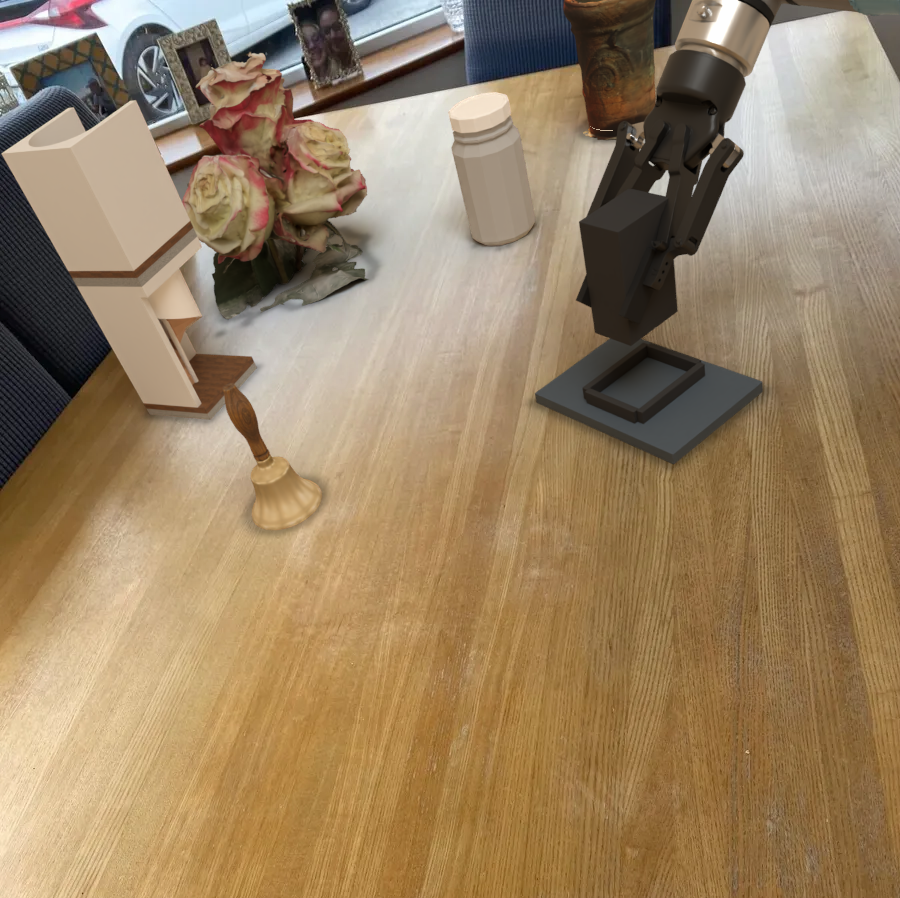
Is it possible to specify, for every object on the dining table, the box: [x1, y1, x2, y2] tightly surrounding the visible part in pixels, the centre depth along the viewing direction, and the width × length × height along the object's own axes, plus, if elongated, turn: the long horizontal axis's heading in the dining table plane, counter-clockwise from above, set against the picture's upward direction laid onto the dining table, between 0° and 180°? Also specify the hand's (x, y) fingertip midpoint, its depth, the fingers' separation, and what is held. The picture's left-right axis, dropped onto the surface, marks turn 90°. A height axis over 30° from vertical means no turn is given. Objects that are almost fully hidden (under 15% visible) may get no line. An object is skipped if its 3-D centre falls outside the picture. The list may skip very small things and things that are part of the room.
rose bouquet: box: [181, 51, 368, 320], centre depth 135 cm, size 26×29×30 cm
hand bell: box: [223, 383, 323, 531], centre depth 99 cm, size 8×8×16 cm
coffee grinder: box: [1, 99, 258, 421], centre depth 115 cm, size 11×11×35 cm
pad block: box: [578, 189, 678, 346], centre depth 92 cm, size 5×7×12 cm
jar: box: [447, 91, 537, 247], centre depth 132 cm, size 10×10×18 cm
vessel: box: [562, 0, 657, 141], centre depth 148 cm, size 14×14×20 cm
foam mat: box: [534, 338, 764, 465], centre depth 102 cm, size 20×14×3 cm
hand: (607, 311), depth 93 cm, fingers closed on pad block, 5 cm apart
